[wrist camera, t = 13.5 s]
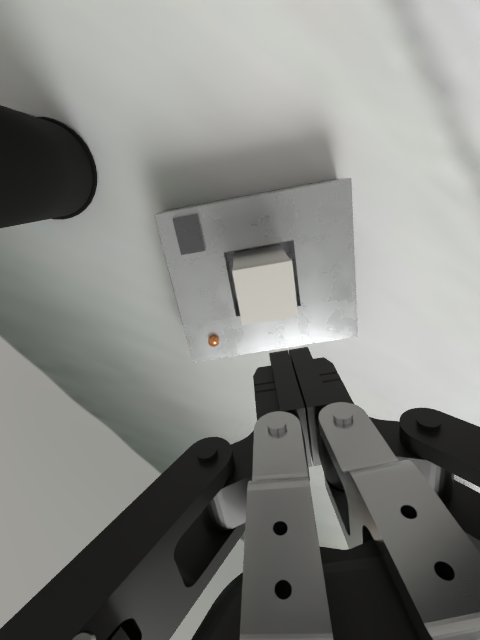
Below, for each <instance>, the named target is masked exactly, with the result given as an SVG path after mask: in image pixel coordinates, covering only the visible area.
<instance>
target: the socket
mask: <svg viewBox="0 0 480 640" xmlns="http://www.w3.org/2000/svg"><path fill="white" fill-rule="evenodd" d="M154 216H155V220H156V224H157V227H158V231H159V235H160V239H161V243H162V247H163V250H164V254H165V258H166V262H167V266H168V269H169V273H170V277H171V281H172V285H173V288H174V292H175V296H176V300H177V304H178V308H179V311H180V315H181V319H182V323H183V327H184V330H185V334H186V338H187V342H188V346H189V350H190V353H191V357H192V361H193V362H199V361H205V360H211V359H218V358H224V357H230V356H237V355H243V354H249V353H256V352H262V351H268V350H275V349H281V348H287V347H294V346H300V345H306V344H313V343H319V342H325V341H332V340H338V339H344V338H351V337H357V336H358V331H357V307H356V283H355V259H354V235H353V211H352V187H351V178H341V179H333V180H327V181H322V182H316V183H311V184H306V185H300V186H295V187H290V188H284V189H279V190H274V191H268V192H263V193H257V194H252V195H247V196H241V197H236V198H231V199H225V200H220V201H214V202H209V203H204V204H198V205H193V206H188V207H182V208H177V209H172V210H166V211H163V212H160V213H157V214H155V215H154ZM276 245H280V246H281V247H282V248H283V250H284V251H285V253H286V254H287V256H288V257H289V259H290V258H291V260H292V264H293V273H294V282H295V291H296V300H297V309H298V317H292V318H286V319H279V320H273V321H267V322H261V323H255V324H248V325H242V322H241V316H240V311H239V306H238V300H237V295H236V289H235V284H234V279H233V273H232V268H233V258H234V253H236V252H242V251H247V250H253V249H259V248H265V247H270V246H276Z"/></svg>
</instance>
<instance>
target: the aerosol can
mask: <svg viewBox="0 0 480 640" xmlns="http://www.w3.org/2000/svg"><path fill="white" fill-rule="evenodd" d="M96 187H97V172H96V166H95V163H94V160H93V156H92V155H91V153H90V151H89V149H88V147H87V145H86V144H85V143H84V141H83V140H82V139H81V137H80V136H78V135H77V134H76V133H75V132H74V131H73V130H72V129H71V128H69V127H68V126H66V125H65V124H63V123H61V122H59V121H57V120H54V119H51V118H46V117H34V116H31V115H28V114H25V113H22V112H19V111H16V110H13V109H10V108H7V107H4V106H1V105H0V228H4V227H9V226H14V225H20V224H25V223H30V222H35V221H40V220H46V219H67V218H72V217H74V216H76V215H78V214H80V213H81V212H82V211H84V210H85V209H86V208H87V207H88V205H89V204H90V203H91V201H92V199H93V197H94V195H95V191H96Z"/></svg>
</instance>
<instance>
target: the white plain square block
mask: <svg viewBox="0 0 480 640" xmlns="http://www.w3.org/2000/svg"><path fill="white" fill-rule="evenodd" d="M232 273H233V279H234V284H235V289H236V295H237V300H238V306H239V311H240V316H241V322H242V325H248V324H255V323H261V322H267V321H273V320H279V319H286V318H292V317H298V309H297V300H296V291H295V282H294V273H293V264H292V260H291V258H290V259H289V257H288V256H287V254H286V253H285V251H284V250H283V248H282V247H281V246H280V245H276V246H270V247H265V248H259V249H253V250H247V251H242V252H236V253H234V258H233V268H232Z"/></svg>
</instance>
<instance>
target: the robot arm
mask: <svg viewBox="0 0 480 640" xmlns="http://www.w3.org/2000/svg"><path fill="white" fill-rule="evenodd" d="M269 355H270V361H271V366H265V367H259V368H258V369H257V370H256V372H255V374H254V376H253V378H254V390H255V401H256V413H257V422H256V423H255V426H254V431H253V432H252V433H251V434H250V435H249V436H248V437H246V438H245V439H243V440H241V441H239V442H236V443H234V444H231V445H230V444H229V442H228V441H226V440H225V439H223V438H219V437H208V438H204V439H201V440H199V441H197V442H196V443H194V444H193V445H192V446H191V447H190V448H188V449H187V450H186V451H185V452H184V453H183V454H182V455H181V456H180V457H179V458H178V459H177V460H176V461H175V462H174V463H173V464H172V465H171V466H170V467H169V468H168V469H167V470H166V471H165V472H163V473H162V474H161V475H160V476H159V477H158V478H157V479H156V480H155V481H154V482H153V483H152V484H151V485H150V486H149V487H148V488H147V489H146V490H145V491H144V492H143V493H142V494H141V495H139V496H138V497H137V498H136V499H135V500H134V501H133V502H132V503H131V504H130V505H129V506H128V507H127V508H126V509H125V510H124V511H123V512H122V513H121V514H120V515H119V516H118V517H117V518H116V519H115V520H114V521H112V522H111V523H110V524H109V525H108V526H107V527H106V528H105V529H104V530H103V531H102V532H101V533H100V534H99V535H98V536H97V537H96V538H95V539H94V540H93V541H92V542H90V543H89V544H88V546H86V547H85V548H84V549H83V550H82V551H81V552H80V553H79V554H78V555H77V556H76V557H75V558H74V559H73V560H72V561H71V562H70V563H69V564H68V565H67V566H65V568H63V569H62V570H61V571H60V572H59V573H58V574H57V575H56V576H55V577H54V578H53V579H52V580H51V581H50V582H49V583H48V584H47V585H46V586H45V587H44V588H43V589H41V591H39V592H38V593H37V594H36V595H35V596H34V597H33V598H32V599H31V600H30V601H29V602H28V603H27V604H26V605H25V606H24V607H23V608H22V609H21V610H20V611H19V612H18V613H17V614H15V616H14V617H12V618H11V619H10V620H9V621H8V622H7V623H6V624H5V625H4V626H3V627H2V628H1V629H0V640H169V639H170V638H171V636H172V635H173V634H174V632H175V631H176V629H177V628H178V626H179V625H180V624H181V622H182V621H183V619H184V618H185V616H186V615H187V613H188V612H189V611H190V609H191V608H192V606H193V605H194V603H195V602H196V600H197V599H198V598H199V596H200V595H201V593H202V592H203V590H204V589H205V588H206V586H207V585H208V583H209V582H210V580H211V579H212V577H213V576H214V575H215V573H216V572H217V570H218V569H219V567H220V566H221V565H222V563H223V562H224V560H225V559H226V557H227V556H228V554H229V553H230V552H231V550H232V549H233V547H234V546H235V544H236V543H237V541H238V540H239V539H240V537H241V536H242V534H243V533H244V531H245V542H244V562H243V564H244V565H243V573H241V574H240V575H239V576H238V577H236V578H235V579H234V580H233V581H232V582H231V583H230V584H229V585H228V586H227V587H226V588H225V589H224V590H223V591H222V592H221V594H220V595H219V596H218V598H217V599H216V600H215V602H214V603H213V605H212V607H211V608H210V610H209V611H208V613H207V615H206V616H205V618H204V620H203V621H202V623H201V625H200V626H199V628H198V629H197V631H196V633H195V634H194V636H193V638H192V640H480V493H478V492H476V491H475V490H473V489H471V488H469V487H467V486H465V485H463V484H461V483H459V482H457V481H455V480H454V474H455V475H457V476H459V477H461V478H463V479H465V480H467V481H469V482H471V483H473V484H475V485H476V486H478V487H480V427H479V426H476V425H473V424H471V423H468V422H466V421H463V420H461V419H458V418H455V417H453V416H450V415H448V414H445V413H443V412H440V411H437V410H434V409H429V408H414V409H410V410H408V411H406V412H404V413H403V414H402V415H401V417H400V422H398V421H386V420H378V419H374V418H371V417H368V415H367V414H366V412H365V411H364V410H363V409H362V408H360V407H359V406H357V405H355V404H354V403H353V401H352V399H351V397H350V396H349V394H348V392H347V390H346V388H345V386H344V384H343V382H342V380H341V378H340V376H339V374H338V373H337V371H336V369H335V367H334V365H333V363H331V362H330V361H328V360H327V359H325V358H324V357H323V358H316V359H313V358H312V356H311V354H310V351H309V349H308V347H304V348H298V349H292V350H289V353H288V350H286V351H280V352H273V353H269ZM310 453H311V455H310ZM311 457H312V461H313V464H314V466H317V465H322V467H323V471H324V476H325V486H326V489H327V492H328V494H329V497H330V500H331V502H332V505H333V507H334V510H335V513H336V515H337V518H338V520H339V523H340V526H341V528H342V531H343V534H344V536H345V539H346V541H347V544H348V547H349V549H348V550H340V549H333V548H326V547H319V541H318V534H317V528H316V521H315V515H314V508H313V501H312V495H311V488H310V477H309V469H308V467H310V466H312V463H311Z"/></svg>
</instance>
